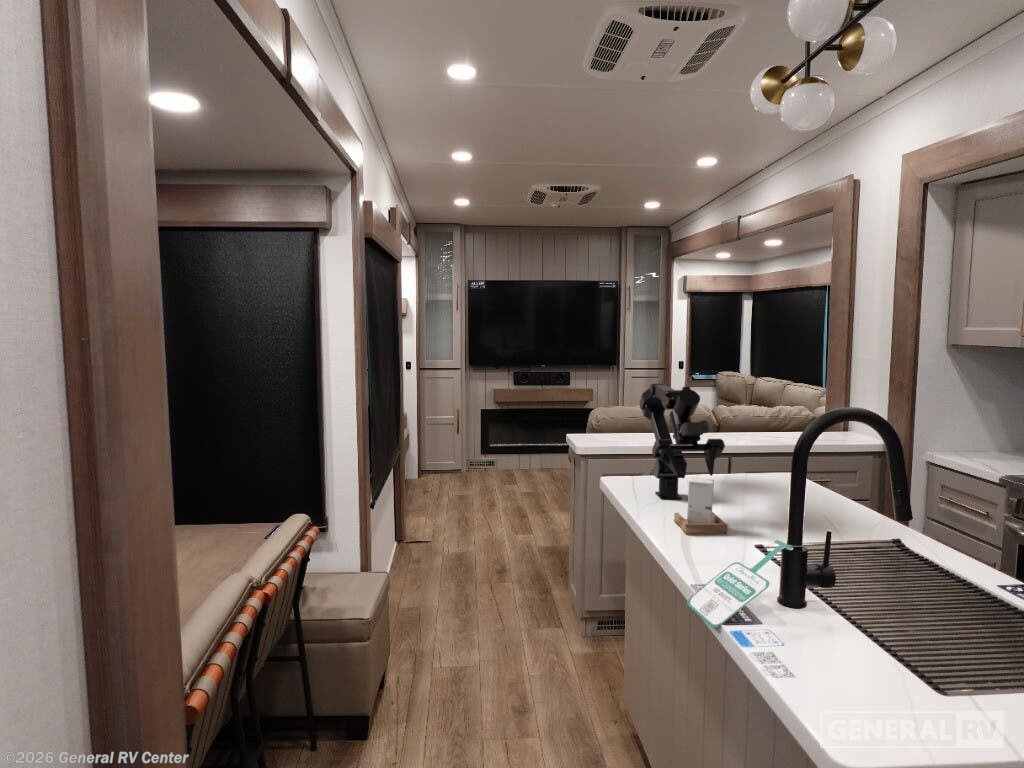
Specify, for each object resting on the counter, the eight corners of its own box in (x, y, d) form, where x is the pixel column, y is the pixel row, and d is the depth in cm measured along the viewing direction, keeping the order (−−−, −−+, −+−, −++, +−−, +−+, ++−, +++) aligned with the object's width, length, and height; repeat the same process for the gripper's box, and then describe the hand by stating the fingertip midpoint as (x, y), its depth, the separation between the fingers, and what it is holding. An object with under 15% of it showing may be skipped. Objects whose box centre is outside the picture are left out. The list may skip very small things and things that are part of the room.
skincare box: (686, 526, 153) (687, 480, 152) (688, 521, 158) (689, 476, 156) (711, 529, 151) (712, 483, 150) (712, 524, 155) (714, 478, 154)
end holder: (673, 521, 159) (673, 512, 159) (711, 520, 160) (712, 511, 159) (686, 534, 149) (686, 525, 149) (727, 534, 149) (727, 524, 149)
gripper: (655, 410, 161) (666, 459, 151) (723, 409, 162) (738, 458, 152) (647, 433, 170) (657, 481, 160) (712, 432, 170) (725, 480, 161)
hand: (694, 475), depth 158 cm, fingers open, 9 cm apart
